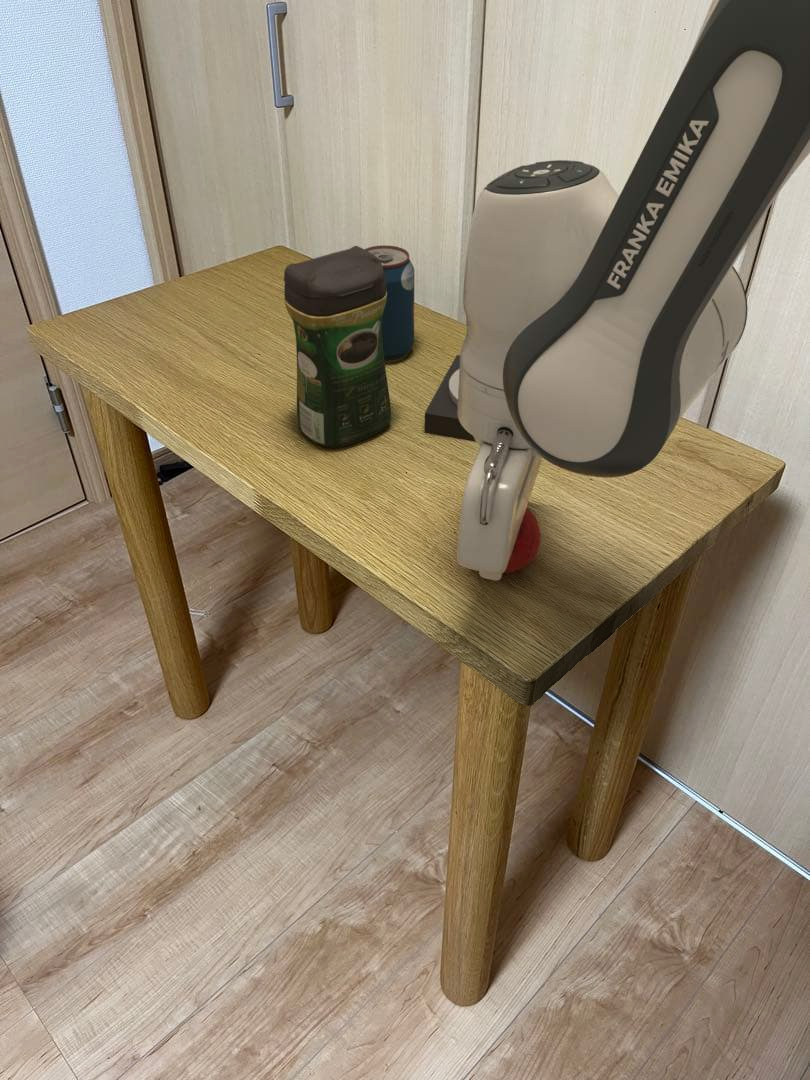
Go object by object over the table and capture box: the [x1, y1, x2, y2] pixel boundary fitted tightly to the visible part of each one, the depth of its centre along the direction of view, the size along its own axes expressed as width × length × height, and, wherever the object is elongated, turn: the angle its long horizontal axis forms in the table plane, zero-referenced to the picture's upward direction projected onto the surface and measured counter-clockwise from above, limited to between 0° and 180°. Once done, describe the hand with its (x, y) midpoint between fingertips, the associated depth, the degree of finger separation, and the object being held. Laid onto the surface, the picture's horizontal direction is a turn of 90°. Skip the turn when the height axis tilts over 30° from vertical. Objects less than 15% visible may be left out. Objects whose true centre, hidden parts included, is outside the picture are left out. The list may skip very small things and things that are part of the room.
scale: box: [424, 354, 476, 442], centre depth 92 cm, size 13×13×3 cm
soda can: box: [364, 244, 415, 364], centre depth 99 cm, size 7×7×12 cm
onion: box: [503, 506, 542, 574], centre depth 71 cm, size 6×6×8 cm
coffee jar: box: [283, 245, 392, 449], centre depth 84 cm, size 10×8×19 cm
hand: (503, 539), depth 71 cm, fingers open, 7 cm apart
